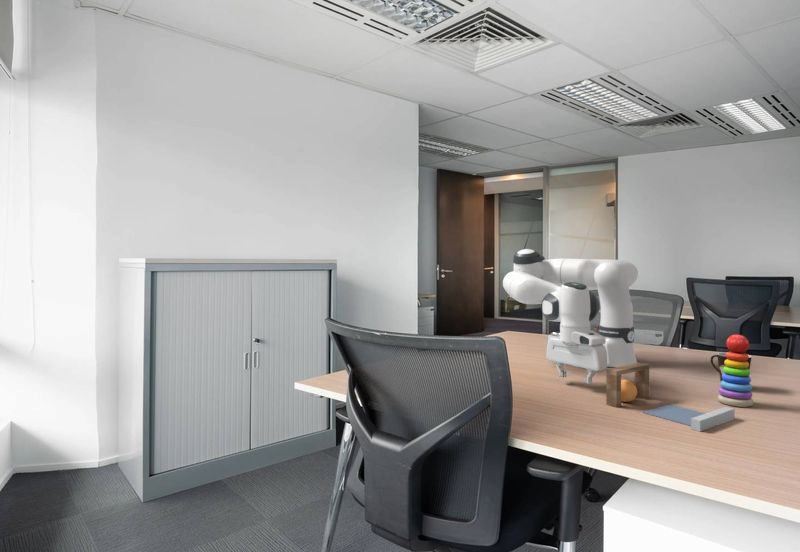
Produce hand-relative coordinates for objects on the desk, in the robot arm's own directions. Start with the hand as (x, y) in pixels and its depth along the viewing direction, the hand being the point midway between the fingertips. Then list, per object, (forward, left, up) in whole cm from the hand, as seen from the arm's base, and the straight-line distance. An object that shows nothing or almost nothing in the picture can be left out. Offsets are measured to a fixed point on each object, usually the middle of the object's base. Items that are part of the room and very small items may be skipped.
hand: (575, 379), depth 149 cm
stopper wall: (+40, 0, -2) cm, 40 cm away
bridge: (+18, 0, -2) cm, 18 cm away
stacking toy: (+35, +22, -2) cm, 41 cm away
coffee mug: (+26, +40, -2) cm, 48 cm away
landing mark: (+32, 0, -2) cm, 32 cm away
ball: (+17, -1, +1) cm, 17 cm away
